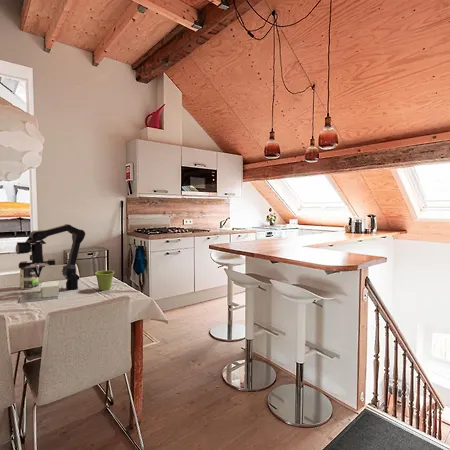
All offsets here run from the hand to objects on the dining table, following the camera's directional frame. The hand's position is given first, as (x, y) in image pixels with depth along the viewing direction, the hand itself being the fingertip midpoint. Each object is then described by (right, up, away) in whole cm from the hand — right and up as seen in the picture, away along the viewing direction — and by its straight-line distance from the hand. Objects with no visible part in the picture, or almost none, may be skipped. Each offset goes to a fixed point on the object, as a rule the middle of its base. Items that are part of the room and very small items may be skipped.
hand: (38, 277), depth 184 cm
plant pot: (+34, -11, +16) cm, 39 cm away
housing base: (+3, -11, -4) cm, 12 cm away
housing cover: (+8, -10, -1) cm, 13 cm away
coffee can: (-16, -10, +17) cm, 25 cm away
